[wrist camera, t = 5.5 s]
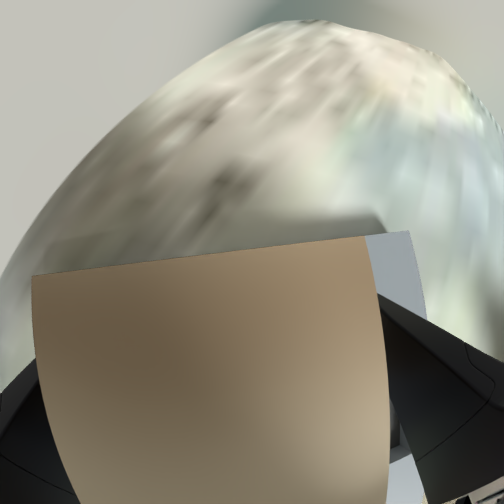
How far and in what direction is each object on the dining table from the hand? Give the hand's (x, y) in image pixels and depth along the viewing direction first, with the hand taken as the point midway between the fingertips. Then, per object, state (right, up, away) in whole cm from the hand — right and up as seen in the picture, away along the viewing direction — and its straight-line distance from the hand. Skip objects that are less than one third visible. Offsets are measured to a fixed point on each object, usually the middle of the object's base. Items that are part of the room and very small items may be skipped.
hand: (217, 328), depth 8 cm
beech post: (0, -3, +5) cm, 5 cm away
